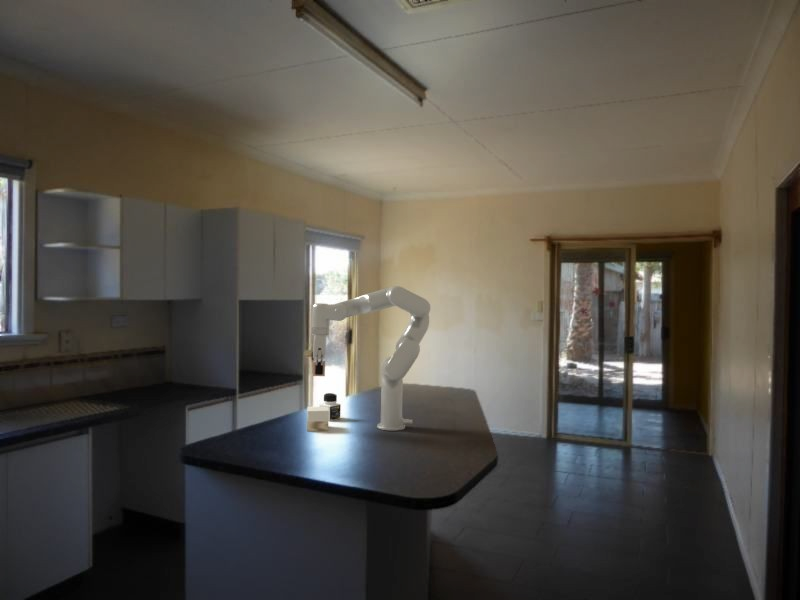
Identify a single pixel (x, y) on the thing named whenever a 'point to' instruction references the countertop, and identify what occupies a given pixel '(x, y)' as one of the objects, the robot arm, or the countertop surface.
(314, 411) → the cream block
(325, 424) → the beech block
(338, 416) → the medicine bottle
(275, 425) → the countertop surface
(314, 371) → the terracotta block
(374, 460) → the countertop surface
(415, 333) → the robot arm
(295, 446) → the countertop surface
